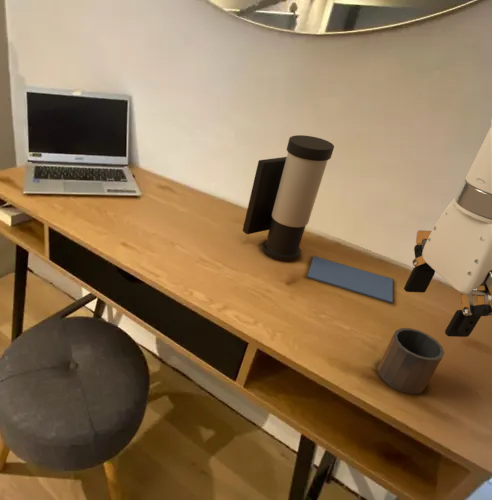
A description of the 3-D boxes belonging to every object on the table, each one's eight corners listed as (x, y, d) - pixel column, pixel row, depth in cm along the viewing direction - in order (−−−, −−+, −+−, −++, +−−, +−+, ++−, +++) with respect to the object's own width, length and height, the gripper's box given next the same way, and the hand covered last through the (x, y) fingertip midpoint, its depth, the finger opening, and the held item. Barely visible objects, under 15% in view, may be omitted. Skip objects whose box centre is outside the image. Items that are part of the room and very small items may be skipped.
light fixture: (272, 267, 98) (304, 152, 85) (239, 241, 106) (264, 133, 93) (314, 256, 103) (350, 147, 90) (279, 232, 111) (308, 129, 98)
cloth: (392, 280, 97) (392, 278, 97) (391, 303, 90) (392, 301, 90) (313, 257, 103) (313, 255, 102) (307, 277, 95) (307, 275, 95)
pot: (408, 361, 77) (426, 328, 73) (434, 393, 71) (454, 360, 67) (369, 360, 76) (385, 327, 72) (392, 394, 70) (410, 359, 67)
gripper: (581, 239, 51) (502, 356, 60) (472, 176, 66) (421, 277, 74) (519, 236, 50) (448, 355, 59) (422, 173, 65) (377, 275, 73)
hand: (433, 311), depth 67 cm, fingers open, 9 cm apart
